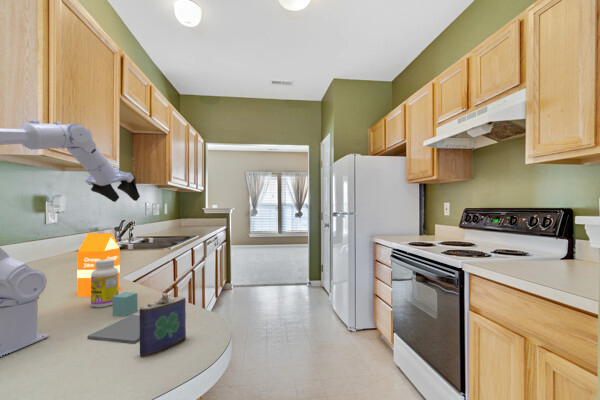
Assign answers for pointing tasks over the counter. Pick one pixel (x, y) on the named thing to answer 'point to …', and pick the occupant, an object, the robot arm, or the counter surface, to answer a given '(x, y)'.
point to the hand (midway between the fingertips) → (127, 199)
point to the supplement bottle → (104, 283)
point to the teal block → (124, 304)
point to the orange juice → (95, 259)
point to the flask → (162, 325)
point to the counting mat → (120, 331)
